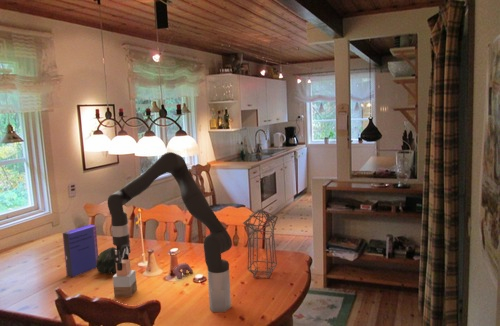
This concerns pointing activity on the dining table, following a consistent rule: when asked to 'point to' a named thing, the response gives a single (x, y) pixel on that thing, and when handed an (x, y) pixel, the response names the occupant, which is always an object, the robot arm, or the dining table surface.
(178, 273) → the video game controller
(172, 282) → the dining table surface
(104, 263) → the squash
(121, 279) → the tower top
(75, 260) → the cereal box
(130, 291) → the tower bottom
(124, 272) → the beige block
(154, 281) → the dining table surface
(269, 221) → the geometric lantern
